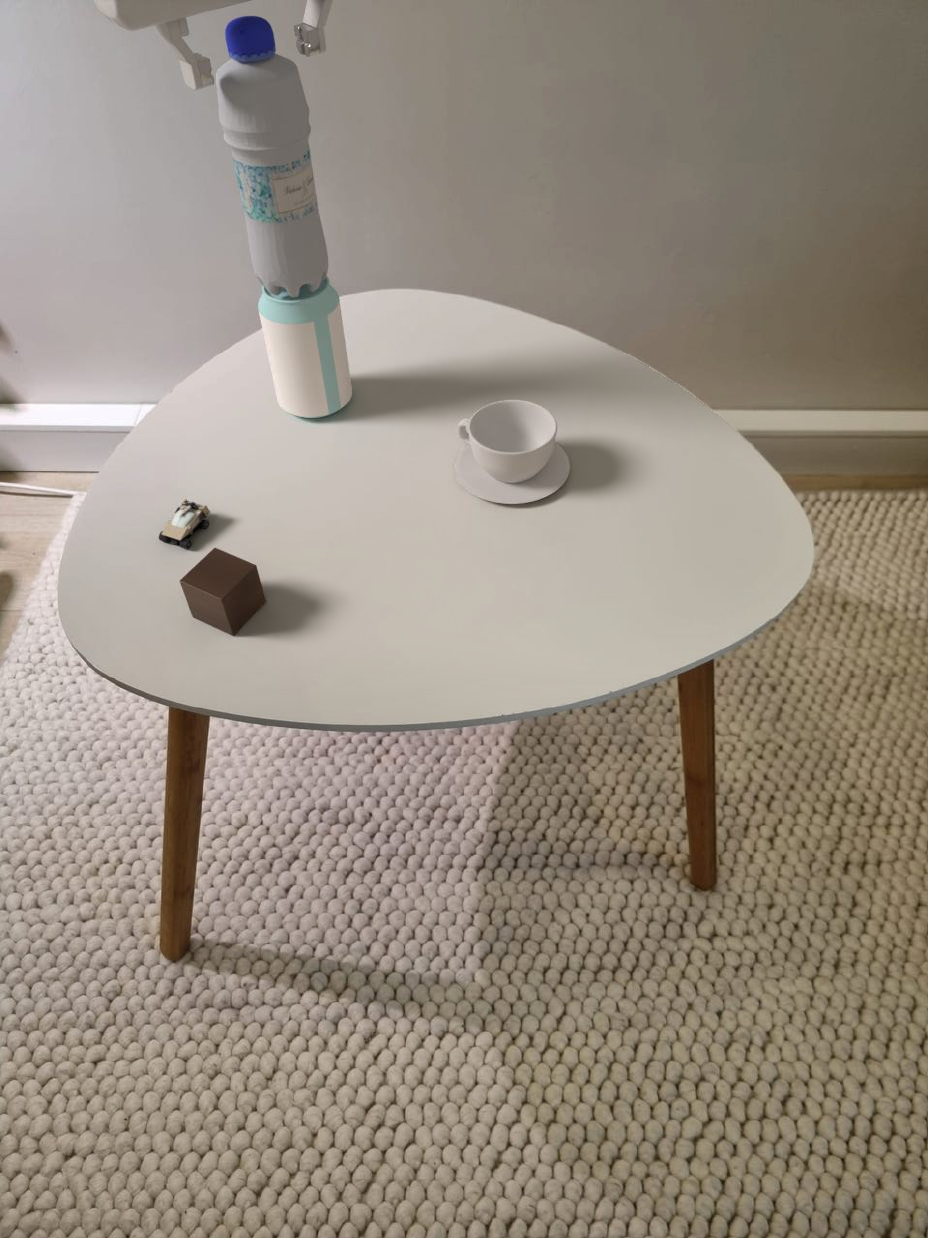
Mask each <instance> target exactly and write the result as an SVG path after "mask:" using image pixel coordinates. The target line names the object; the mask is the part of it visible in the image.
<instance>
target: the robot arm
mask: <svg viewBox="0 0 928 1238" xmlns="http://www.w3.org/2000/svg"><path fill="white" fill-rule="evenodd" d="M251 1H252V0H93V3H94V5H95V7H96V9H97V10H98V11H99V12H100V14H101V15H103V16H104V18H106V20H109V22H111V23H113V24H114V25H116V26H118V27H119V28H122V29H124V30H126V31H128V32H129V31H130V32H135V31H139V30H144V29H147V28H150V27H154V29H155V31H156V34H157V35H158V37H159V38H160V39H161V41H162V42H163V44H165V45H166V47H167V49H169V50H170V51H171V53H172V54H173V55H174V56H175V58H177V59H178V61H179V65H180V69H181V74H182V78H183V81H184V84H185V85H186V87H187V88H189V89H190V90H192V91H199V90H202V89H205V88H208V87H211V86H213V85H215V78H214V76H213V74H212V71H213V69H212V64H211V59H210V58H208V57H207V56H204V55H203V54H200V53H198V52H193V50H192V49H191V48H190V46H189V45H188V44H187V42H186V41H185V40H184V38H183V37H188V36H189V35H190V29H189V26H188V20H187V18H188V17H189V18H190V17H193V16H196V15H201V14H204V13H208V12H212V11H216V10H219V9H224V8H227V7H231V6H235V5H239V4H243V3H247V2H251ZM333 2H334V0H306V5H305V8H304V9H305V10H304V14H303V18H302V22H301V23H298V24H295V25H293V30H294V36H295V38H296V42H295V44H296V49H297V51H298V53H299V54H300V55H303V56H305V57H307V58H309V57H313V56H317V55H321V54H323V53H325V52H326V51H327V44H326V36H325V28H324V27H325V26H326V23H327V20H328V17H329V14H330V12H331V8H332V4H333Z"/></svg>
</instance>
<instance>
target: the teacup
mask: <svg viewBox="0 0 928 1238" xmlns="http://www.w3.org/2000/svg"><path fill="white" fill-rule="evenodd" d="M466 428H467V429H466ZM467 430H468V431H467ZM557 432H558V422H557V419H556V418H555V416H554V415H553V414H552V412H550V411H549V410H548V409H547V408H546V407H544V406H542V405H540V404H538V403H535V402H532V401H528V400H524V399H523V400H522V399H504V400H498V401H494V402H491V403H488V404H486V405H484V406H482V407H480V408H479V409H477V411H475V412H474V413H473V414H472V415H471V417H465V418H463V419H461V420H460V421H459V423H458V425H457V433H458V436H459V438H460V439H461V441H463V442H464V443H465V445H464V446H462V448H461V449H460V450H459V452H458V453H457V454H456V457H455V459H454V464H453V465H454V466H453V467H454V469H453V470H454V475H455V477H456V480H457V481H458V483H459V484H460V486H462V488H464V490H466V491H467V492H469V493H470V494H472V495H473V496H475V497H477V498H479V499H481V500H485V501H488V502H492V503H498V504H506V505H518V504H519V505H520V504H527V503H532V502H535V501H538V500H541V499H544V498H546V497H548V496H550V495H552V494H553V493H556V491H558V490H559V489H560V488H561V487H562V486H563V485H564V484H565V483H566V481H567V479H568V477H569V474H570V470H571V462H570V459H569V456H568V454H567V452H566V451H565V450H564V449H563V447H562V446H561V445H559V444H558V443H557V442H556V438H557Z"/></svg>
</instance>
